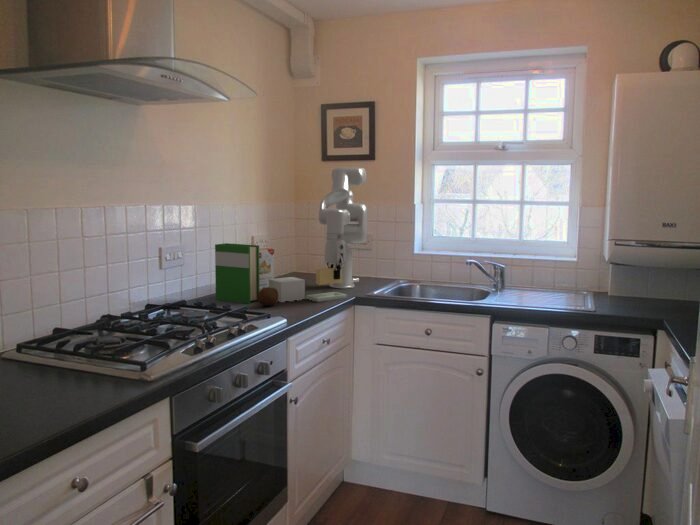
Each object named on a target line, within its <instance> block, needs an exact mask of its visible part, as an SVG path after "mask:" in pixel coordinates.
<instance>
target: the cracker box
mask: <svg viewBox="0 0 700 525" xmlns="http://www.w3.org/2000/svg"><path fill="white" fill-rule="evenodd" d="M274 270H275V249H274V248H270V247H268V248H267V247H264V248H259V292H260V291H261V290H262V289H264V288H267V287H269V279H275V277H274V275H275V274H274V272H275V271H274Z"/></svg>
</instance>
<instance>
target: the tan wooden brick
mask: <svg viewBox="0 0 700 525" xmlns="http://www.w3.org/2000/svg"><path fill="white" fill-rule="evenodd" d="M334 270H335V268H328V267H327V268H316V269H315V284H316V285H319V286H321V285H330V284H333V283H342V268H341V270H340V279H334Z"/></svg>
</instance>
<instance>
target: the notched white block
mask: <svg viewBox="0 0 700 525" xmlns="http://www.w3.org/2000/svg"><path fill="white" fill-rule="evenodd" d="M306 284H307V279H304V278H299V277H296V276H287V277H279V278H278V277H277V278H276V277H274V279H269V287H270V288H275V289H276V290H277V292H278V300H277V302H278V301H279V303H286V302H285V301H289V302H295V301H294V300H297V301H303V300H302V299H305V298H306V296H305V295H306V294H305V293H306V291H305V290H306V286H305V285H306ZM305 300H306V299H305Z"/></svg>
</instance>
